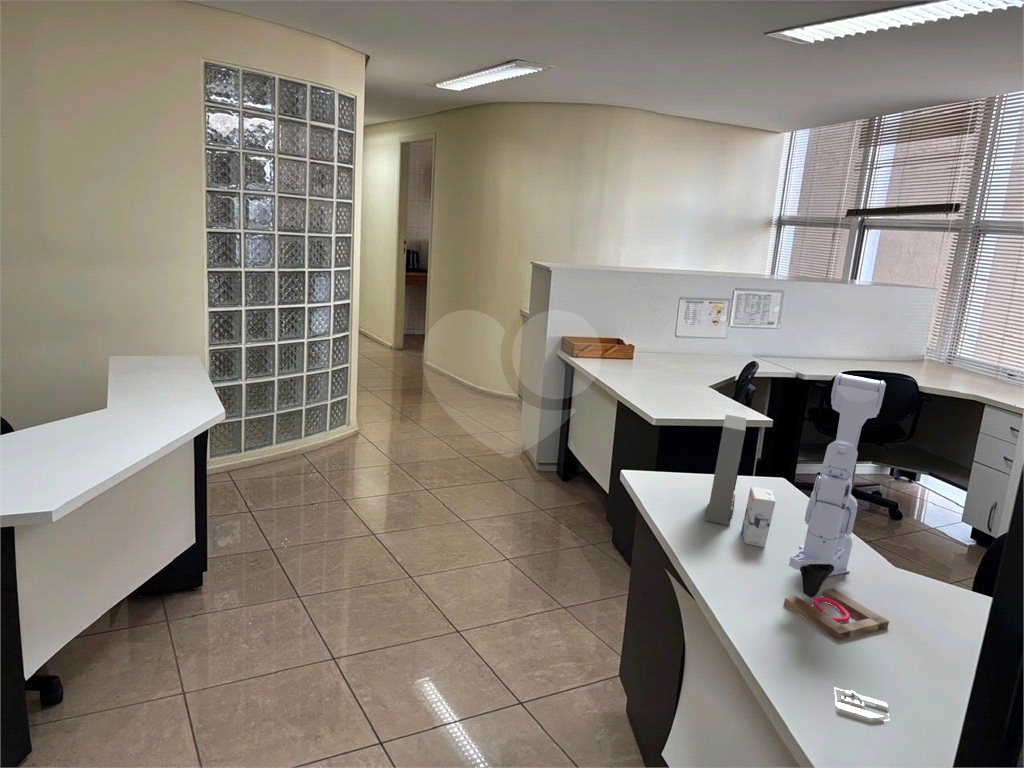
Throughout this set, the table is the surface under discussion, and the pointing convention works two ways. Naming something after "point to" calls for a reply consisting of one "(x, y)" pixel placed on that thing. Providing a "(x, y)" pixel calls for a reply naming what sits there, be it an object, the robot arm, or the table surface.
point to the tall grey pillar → (726, 471)
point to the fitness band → (841, 608)
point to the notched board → (832, 627)
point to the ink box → (758, 516)
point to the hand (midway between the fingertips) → (809, 594)
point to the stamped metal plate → (858, 712)
